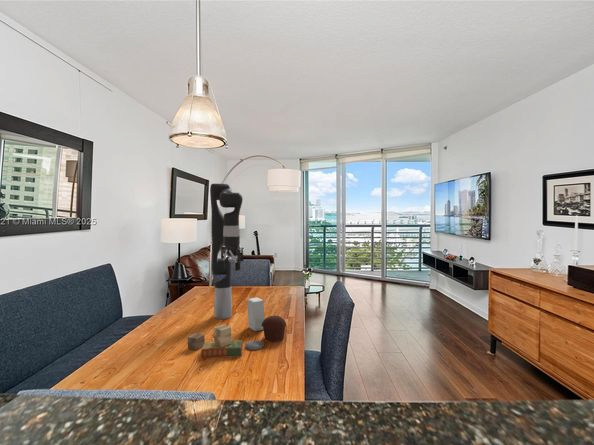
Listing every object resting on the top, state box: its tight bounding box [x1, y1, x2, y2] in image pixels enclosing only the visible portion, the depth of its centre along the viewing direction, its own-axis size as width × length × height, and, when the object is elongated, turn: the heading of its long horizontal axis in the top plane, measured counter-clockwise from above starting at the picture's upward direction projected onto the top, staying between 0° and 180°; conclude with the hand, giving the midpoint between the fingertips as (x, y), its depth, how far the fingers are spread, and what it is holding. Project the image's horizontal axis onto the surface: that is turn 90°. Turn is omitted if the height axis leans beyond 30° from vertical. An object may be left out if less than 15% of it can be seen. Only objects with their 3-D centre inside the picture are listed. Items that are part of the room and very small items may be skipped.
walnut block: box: [187, 332, 206, 351], centre depth 137 cm, size 5×5×5 cm
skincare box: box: [246, 296, 266, 332], centre depth 158 cm, size 8×6×15 cm
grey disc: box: [244, 340, 265, 351], centre depth 137 cm, size 8×8×1 cm
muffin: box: [261, 315, 287, 343], centre depth 146 cm, size 12×11×10 cm
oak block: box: [213, 324, 232, 347], centre depth 131 cm, size 5×5×7 cm
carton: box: [200, 339, 244, 359], centre depth 131 cm, size 8×16×4 cm, turn 96°
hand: (232, 269), depth 147 cm, fingers open, 8 cm apart
